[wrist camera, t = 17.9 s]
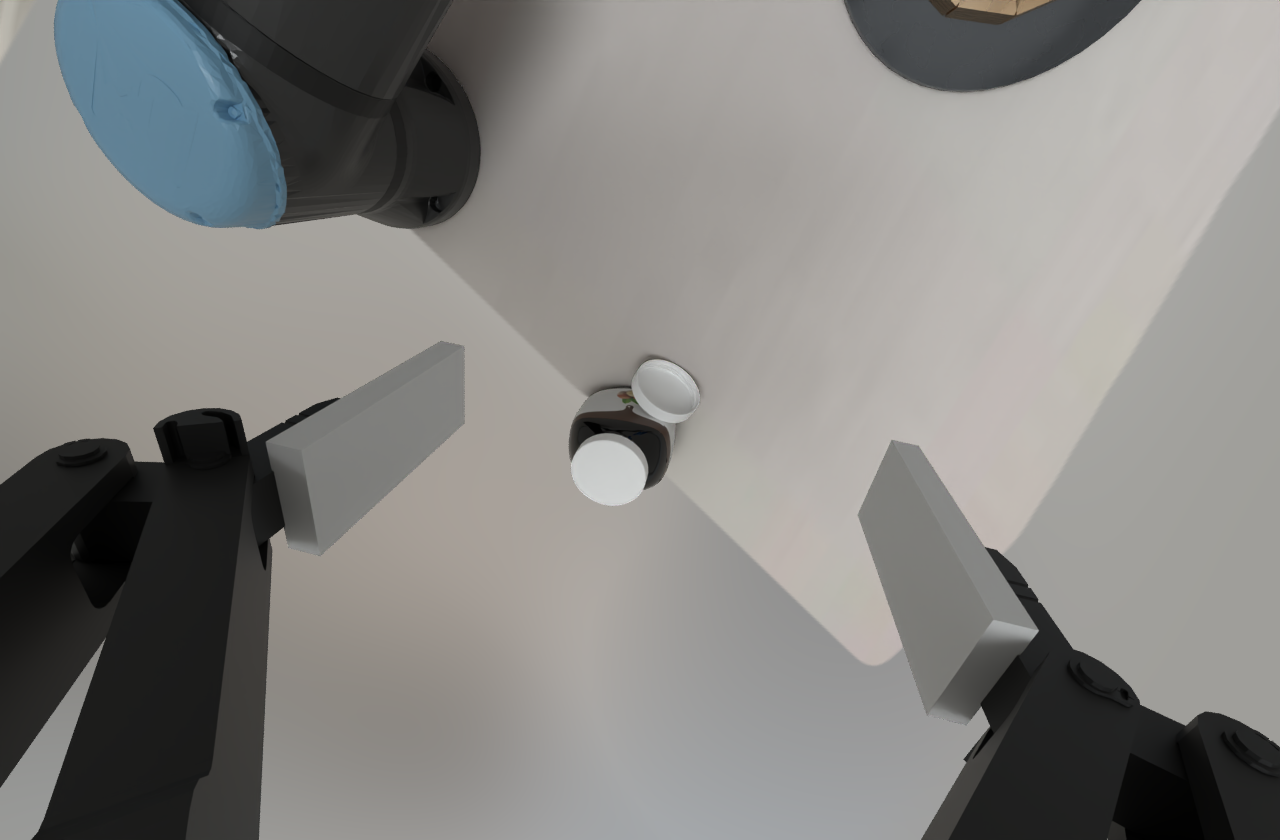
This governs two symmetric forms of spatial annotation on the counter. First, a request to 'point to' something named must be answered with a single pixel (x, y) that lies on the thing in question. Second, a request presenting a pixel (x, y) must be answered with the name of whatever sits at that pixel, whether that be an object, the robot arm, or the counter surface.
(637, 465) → the spread jar
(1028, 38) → the collar plate
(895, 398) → the counter surface
